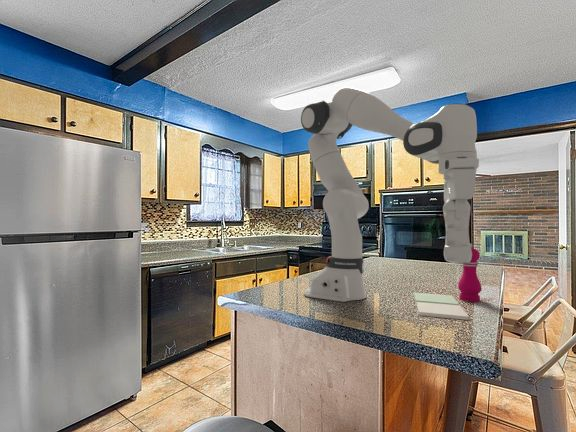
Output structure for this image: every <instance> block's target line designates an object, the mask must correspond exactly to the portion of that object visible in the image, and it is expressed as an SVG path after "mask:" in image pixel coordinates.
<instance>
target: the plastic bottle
mask: <svg viewBox="0 0 576 432" xmlns="http://www.w3.org/2000/svg"><path fill="white" fill-rule="evenodd" d="M449 194H450V188H449V193H448V195H449ZM471 209H472V207H471V204H470V203H469V201H468V200H466V206H465V210H464V218H455V211H456V204H455V200H450V198H448V199H447V201H446V202H444V204H443V207H442V212H443V218H444V226H445V242H444V247H443V257H444V260H445V261H446V262H448V263H451V264H455V265H462V264H463V263H469V262H470V261H471V258H472V251H471V246H470V231H469V230H470V229H469V227H470V219H471V218H470V216H471Z"/></svg>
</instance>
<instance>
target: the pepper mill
mask: <svg viewBox="0 0 576 432" xmlns="http://www.w3.org/2000/svg"><path fill="white" fill-rule="evenodd" d="M470 246H471V251H472V258H471V261H470V262H469V263H463V264H461V265H462V268H463V270H462V275H461V276H460V279H459V281H458V283H457V284H458V285H457V288H458V290H459V291H460V293H459V299H460V300H461V301H465V302H470V303H478V302H480V301H481V296H480V295H479V294H480V293H481V291H482V290H483V289H482V283H481V281H480V280H479V277H478V275H477V267H478V266H479V262H478V260H479V259H480V258H481V257H480V256H481V255H480V252H479V250H477V249H476V248H473V244H472V243H470Z"/></svg>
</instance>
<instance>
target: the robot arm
mask: <svg viewBox="0 0 576 432" xmlns="http://www.w3.org/2000/svg"><path fill="white" fill-rule="evenodd" d="M300 124H301V127H302V129H304V131H306V132H307V133H310V134H313V135H312V136H311V137H310V138H309V139H308V142H307V145H308V146H307V147H308V151H309V155H310V158H311V162H312V164H313V167H314V168H315V171H316V173H317V175H318V178H319V180H320V183H321V184H322V185H323V186H324V188H325V189H326V190H327V191H328V192H327V193H326V194H325V195H324V198H323V200H322V208H323V211H324V212H325V214H326V216H327V219H328V224H329V228H330V229H329V230H330V234H331V235H330V236H331V255H330V256H328V257H327V258H326V260H325V265H326V266H325V267H324V268H323V269H321V270H320V271H319V272H318V273H316V274H315V275H313V276H312V279H311V282H310V287H309V288H306V289H305V290H304V293H303V294H304V296H305V297H307V298H315V299H319V300H320V299H322V300H327V301H335V302H342V303H343V302H345V303H346V302H349V301H359V300H364V299H366V298H367V293H366V290H365V289H366V288H365V284H364V274H363V273H364V271H365V269H364V266H365V264H364V263H365V262H364V257H363V235H362V233H361V229H360V226H359V220H358V219H361V218H362V217H364V216H365V215H366V214H367V212H368V211H369V209H370V207H369V206H370V205H369V201H368V199H367V197H366V196H365V195H364V193H363V191H362V190H361V187H360V186H359V185H358V183H357V182H356V180H355V178H354V177H353V176H352V173H350V170H349V168H348V166H347V164H346V162H345V160H344V157H343V155H342V153H341V151H340V149H339V147H338V144H337V140H340V139H343V137H344V136H345V134H346V133H348V132H349V131H350V130H351V129H352V127H353V126H354V127H355V128H359V129H362V130H365V131H369V132H374V133H378V134H383V135H387V136H391V137H393V138H396V139H398V140H400V141H401V142H402V144H403V149H404V151H406V153H408V154H410V155H411V156H413V157H416V158H418V159H422V160H424V161H427V162H429V163H431V164H435V165H436V164H437V165H438V174H440V175H443V180H444V181H443V182H444V185H443V202H444V203H445V202H446V201H447V199H448V198H450V200H455V204H456V211H455V218H464V210H465V206H466V200H467V201H468V200H470V199H473V197H474V194H475V188H476V176H477V171H478V170H477V169H478V168H479V167H480V160H479V158H478V156H477V155H478V151H477V148H476V140H477V137H478V125H477V124H478V123H477V115H476V110H475V109H474V108H473V107H472V106H470V105H468V104H466V103H465V104H464V103H449V104H446V105H443V106H442V107H441V108H440V109H439V110H438V111H437V112H436V113H435V114H434V115H432V116H430V117H429V118H427V119H424V120H423V121H420V122H416V123H414V122H412V121H411V120H407V119H406V118H404V117H403V116H401V115H400V114H398V113H397V112H396V111H395V110H393V108H392V107H390V106H388V104H386V103H385V102H384V101H382V100H381V99H380V98H378V97H377V96H375V95H373V94H371V93H369V92H367V91H365V90H362V89H359V88H354V87H349V86H343V87H341V88H339V89H338V90H337V91H336V92H335V93H334V95H333V97H332V99H331V100H330V101H327V102H326V101H325V100H320V101H317V102H312V103H310V104H309V103H308V105H306V106H305V107H304V108H303V110H302V112H301V115H300ZM449 188H450V194H449V195H448V193H449Z"/></svg>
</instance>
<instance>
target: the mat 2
mask: <svg viewBox="0 0 576 432" xmlns="http://www.w3.org/2000/svg"><path fill="white" fill-rule="evenodd" d="M415 305H416V309H417V313H418V316H423V317H432V318H433V317H434V318H445V319H452V320H455V319H456V320H463V321H465V320H466V321H469V320H470V317H469V315H468V313H467V312H466V311H465V309H463V307H462V306H461V305H460V304H459V305H448V304H436V303H425V302H415Z"/></svg>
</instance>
